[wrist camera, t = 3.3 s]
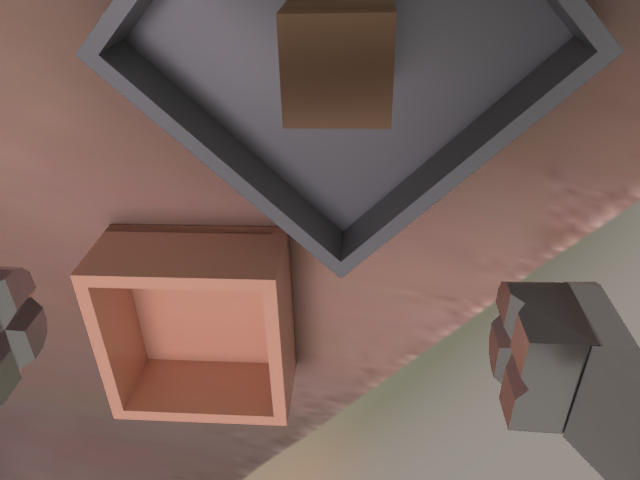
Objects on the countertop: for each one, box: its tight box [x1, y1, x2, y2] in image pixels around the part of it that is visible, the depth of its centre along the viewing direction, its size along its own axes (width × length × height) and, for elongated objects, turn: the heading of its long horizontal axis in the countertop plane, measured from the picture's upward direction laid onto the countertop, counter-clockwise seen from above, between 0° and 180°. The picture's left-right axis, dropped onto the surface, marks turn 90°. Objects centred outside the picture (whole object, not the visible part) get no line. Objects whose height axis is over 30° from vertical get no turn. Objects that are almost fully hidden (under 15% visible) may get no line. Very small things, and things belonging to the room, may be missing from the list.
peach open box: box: [70, 224, 296, 426], centre depth 31 cm, size 10×10×5 cm
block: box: [276, 0, 397, 129], centre depth 22 cm, size 4×4×6 cm
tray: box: [75, 0, 624, 278], centre depth 24 cm, size 15×15×4 cm
